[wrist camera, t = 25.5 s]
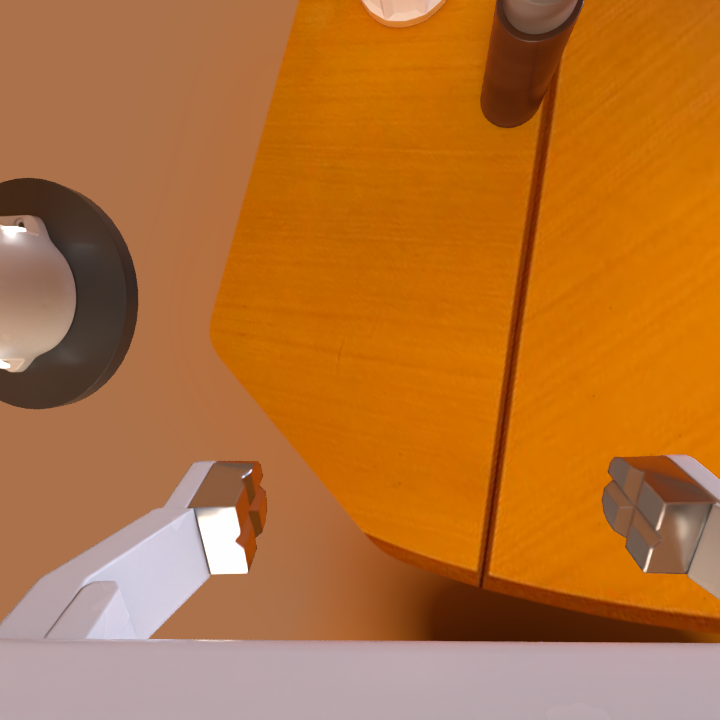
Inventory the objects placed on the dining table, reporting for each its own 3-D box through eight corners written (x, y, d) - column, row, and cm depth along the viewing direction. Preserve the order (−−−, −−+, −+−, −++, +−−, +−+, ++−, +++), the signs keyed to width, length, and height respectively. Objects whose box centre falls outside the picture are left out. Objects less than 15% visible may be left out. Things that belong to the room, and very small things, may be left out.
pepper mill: (491, 138, 37) (523, 16, 22) (472, 84, 37) (491, -72, 23) (550, 111, 36) (622, -34, 21) (530, 56, 36) (588, -127, 21)
